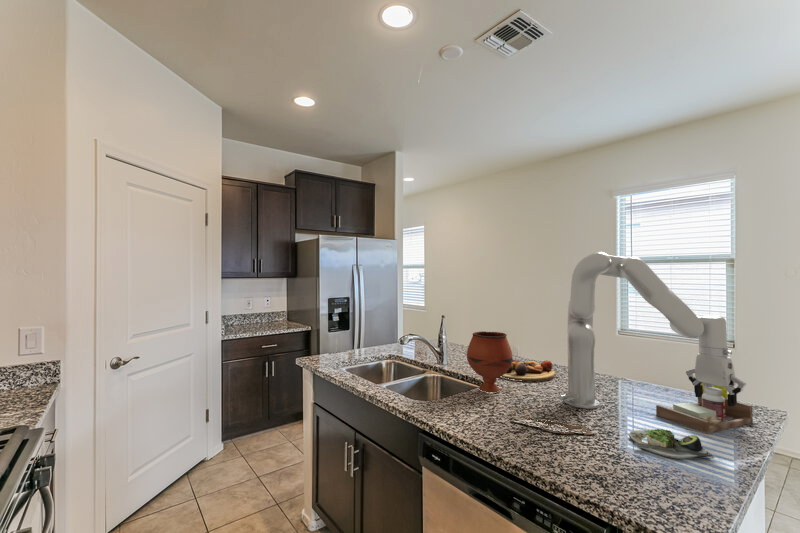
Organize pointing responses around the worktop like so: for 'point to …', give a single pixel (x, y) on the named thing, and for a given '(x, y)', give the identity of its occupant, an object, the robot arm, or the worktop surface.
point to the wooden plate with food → (530, 371)
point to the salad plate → (669, 444)
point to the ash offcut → (702, 418)
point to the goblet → (489, 357)
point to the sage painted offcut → (694, 410)
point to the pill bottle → (714, 401)
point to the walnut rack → (738, 411)
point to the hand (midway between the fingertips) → (715, 401)
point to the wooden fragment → (564, 425)
